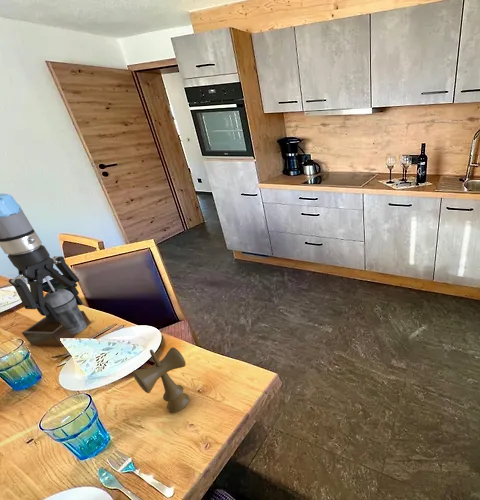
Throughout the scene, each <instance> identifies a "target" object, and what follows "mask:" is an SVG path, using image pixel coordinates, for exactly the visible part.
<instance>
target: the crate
mask: <svg viewBox="0 0 480 500" xmlns="http://www.w3.org/2000/svg"><path fill="white" fill-rule="evenodd" d="M80 311H81V314H82V316H83V318H84V320H85V323H86V325H87V326H88V325H90V324H91V321H90V318H89V317H88V316H87V314H86V313H85V311H84V310H80ZM21 335H23V337H24V339H26V341H27V342H28V343H29V344H30V346H41V347H64V345H63V344H62V343H61V341H60V338H71V339H73V338H74V337H75V336H76V335H78V333H76V334H70V333H69V332H68V331H67V330H66V329H65V328H64V327H63V326H62V325H61V323H60V322H49V320H48V319H47V317H46V316H43V318H42V319H40V320H39V321H37V322H35V323H34V324H32V325H31V326H29V327H28V328H27V329H25V330H24V331H22V332H21Z"/></svg>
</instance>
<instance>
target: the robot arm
mask: <svg viewBox="0 0 480 500" xmlns="http://www.w3.org/2000/svg"><path fill="white" fill-rule="evenodd" d="M0 248H1V250H2V251H3V253H4V254H6V255H7V258H8V260H9V261H10V262H11V264H12V265H13V266H14V267H15V268H16V270H17V271H18V275H17V276H16V277H14V278H9V280H8V283H9V284H10V285H12V286H13V288H14V289H15V291H16V293H17V294H18V297H19V299H20V301H21V303H22V306H23V307H24V309H25V310H37V312H38V313H39V315H40V316H42V317H47V319H48V320H49V322H59V321H60V319H59V318H58V317H57V315H56V314H55V312H54V311H53V309H52V308H51V306H50V305H49V304H45V301H44V296H45V294H44V289H43V283H44V279H45V277H49V278H51V279H53V280H54V281H56V282H58V283H59V284H60V285H62V286H63V287H65V288H64V289H66V290H68V291H70V292H71V293H72V294H73V295H75V299H76V303H77V305H78V306H82V305H84V303H83V301H82V300H81V298H80V296H79V291H78V289H77V287H78V283H79V282H80V279H79V277H78V276H77V275H76V273H74V271H73V270H72V269H71V267H70V266H69V265H68V264H67V262H66V260H65V257H64V256H62V255H61V256H60V255H59V256H58V255H56V256H53V257H51V256H50V255H51V254H50V253H49V251H48V250H47V248H46V246H45V245H43V242H42V240H41V238H40V237H39V235H38V234H37V232H36V231H35V229H34V227H33V226H32V224H31V222H30V221H29V219H28V217H27V215H26V214H25V212H24V210H23V209H22V206H21V205H20V204H19V203H18V202H17V201H16V199H15V197H14V196H13V195H12V194H8V193H0ZM54 266H55V267H56V268H57V269H58V270H57V269H56V268H54ZM25 279H26V280H25ZM26 282H27V283H26ZM28 285H29V286H28Z"/></svg>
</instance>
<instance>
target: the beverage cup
mask: <svg viewBox="0 0 480 500" xmlns="http://www.w3.org/2000/svg"><path fill="white" fill-rule="evenodd" d="M44 279H45V281H46V282H47V284H48V286H49V288H50V289H51V290H50V291H48V292H47V293H46V294H44V301H45V304H49V305H50V306H51V308H52V309H53V311H54V312H55V314H56V315H57V317H58V318H59V319H60V321H59V322H60V323H61V325H60V326H63V327H64V328H65V329H66V330H67V331H68V332H69V333H70V334H76V333H77V334H79V333H81V332H82V331H84V330H86V328H87V327H88V325H86V323H85V320H84V318H83V316H82V314H81V311H82V310H81V309H80V307H79V305H77V303H76V299H75V295H73V294H72V293H71V292H70V291H68V290H66V289H65V288H54V286H53V285H52V282H51V281H50V280H49V278H48V276H46V277H45V278H44ZM77 334H76V335H77Z"/></svg>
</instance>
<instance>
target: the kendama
mask: <svg viewBox="0 0 480 500" xmlns="http://www.w3.org/2000/svg"><path fill="white" fill-rule="evenodd" d="M149 354H150V355H151V358H152V360H153V363H154V364H153V365H152V366H150V367H146V368H141V369H140V368H139V369H134V370H132V376H133V379H134V380H135V381H136V384H138V386H139V387H140V388H141V390H142V391H143V392H144V393H146V394H150V393H151V392H152V390H153V388H154V387H155V385H156V383H157V381H158V380H159V379H160V378H161V382H162V385H163V389H164V393H163V394H162V395H163V396H162V398H163V401H165V402H166V403H167V405H166V408H167V411H168V412H169V413H178V412H181V410H183V409H184V408H185V407H187V405H188V404H189V403H190V396H189V394H188V393H186V392H184V389H185V388H184V386H183V385H182V384H177V383H176V382H175V381H174V380H173V379H172V378H171V376H170V375H169V374H168V372H170V371H173V370H177V369H182V368H184V367H186V366H187V365H186V364H187V363H186V360H185V358H184V355H182V353H181V352H180V351H179V350H178V349H177V347H174V346H173V347H170V348H169V350H168V351H167V352H166V354H165V356H164V357H163V358H162V359H161V360H160V359H159V358H158V356H157V354H156V353H155V352H154V350H153V349H150V350H149Z"/></svg>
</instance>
